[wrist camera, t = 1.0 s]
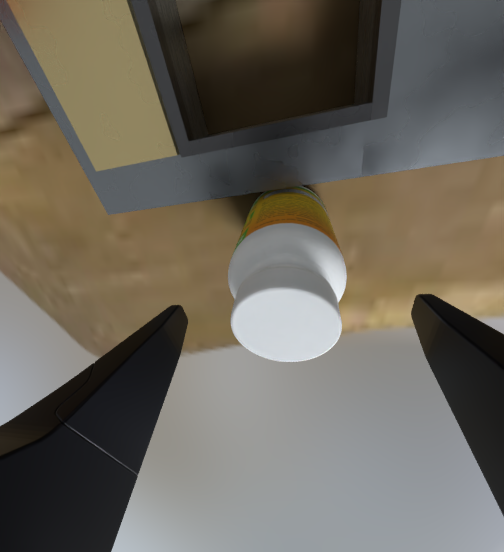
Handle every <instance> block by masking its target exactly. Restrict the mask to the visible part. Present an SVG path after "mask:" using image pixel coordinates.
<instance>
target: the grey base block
mask: <svg viewBox="0 0 504 552" xmlns="http://www.w3.org/2000/svg"><path fill="white" fill-rule="evenodd" d="M0 20H1V22H2V23H3V25H4V27H5V29H6V31H7V32H8V34H9V36H10V38H11V40H12V42H13V43H14V45H15V47H16V49H17V51H18V52H19V54H20V56H21V58H22V60H23V61H24V63H25V65H26V67H27V69H28V70H29V72H30V74H31V76H32V78H33V80H34V81H35V83H36V85H37V87H38V89H39V90H40V92H41V94H42V96H43V98H44V99H45V101H46V103H47V105H48V107H49V108H50V110H51V112H52V114H53V116H54V118H55V119H56V121H57V123H58V125H59V127H60V128H61V130H62V132H63V134H64V136H65V137H66V139H67V141H68V143H69V145H70V146H71V148H72V150H73V152H74V154H75V155H76V157H77V159H78V161H79V163H80V165H81V166H82V168H83V170H84V172H85V174H86V175H87V177H88V179H89V181H90V183H91V184H92V186H93V188H94V190H95V192H96V193H97V195H98V197H99V199H100V201H101V203H102V204H103V206H104V208H105V210H106V212H107V213H108V215H110V214H117V213H123V212H130V211H137V210H144V209H150V208H157V207H164V206H170V205H177V204H184V203H190V202H197V201H204V200H210V199H217V198H224V197H230V196H237V195H244V194H250V193H257V192H264V191H270V190H277V189H284V188H290V187H297V186H304V185H310V184H317V183H324V182H330V181H337V180H344V179H350V178H357V177H364V176H371V175H377V174H384V173H391V172H397V171H404V170H411V169H417V168H424V167H431V166H437V165H444V164H451V163H457V162H464V161H471V160H477V159H484V158H491V157H497V156H504V0H360V7H359V25H358V43H357V60H356V78H355V96H354V104H352V105H347V106H342V107H338V108H333V109H328V110H324V111H319V112H314V113H310V114H305V115H300V116H296V117H291V118H286V119H282V120H277V121H272V122H268V123H263V124H258V125H254V126H249V127H244V128H239V129H235V130H230V131H225V132H221V133H216V134H211V135H208V131H207V127H206V123H205V119H204V115H203V111H202V107H201V103H200V99H199V95H198V91H197V87H196V83H195V79H194V75H193V71H192V66H191V62H190V58H189V54H188V50H187V46H186V42H185V38H184V34H183V30H182V26H181V22H180V18H179V14H178V10H177V6H176V2H175V0H0Z"/></svg>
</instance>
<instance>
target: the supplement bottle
mask: <svg viewBox="0 0 504 552" xmlns="http://www.w3.org/2000/svg"><path fill="white" fill-rule="evenodd" d="M346 278H347V276H346V267H345V263H344V259H343V256H342V253H341V250H340V247H339V245H338V242H337V239H336V237H335V234H334V231H333V228H332V225H331V222H330V220H329V217H328V214H327V211H326V208H325V206H324V204H323V203H322V201H321V200H320V198H319V197H318V196H317V195H316V194H315V193H314V192H312V191H311V190H309V189H307V188H305V187H303V186H297V187H290V188H284V189H277V190H270V191H265V192H264V193H263V194H261V195H260V196H259V197H258V198H257V200H256V201H255V202H254V204H253V205H252V207H251V209H250V212H249V214H248V217H247V220H246V222H245V225H244V228H243V230H242V233H241V236H240V238H239V241H238V243H237V246H236V248H235V251H234V253H233V256H232V258H231V262H230V265H229V271H228V282H229V287H230V290H231V293H232V295H233V297H234V299H235V301H234V305H233V309H232V313H231V328H232V331H233V333H234V335H235V337H236V338H237V340H238V341H239V342H240V343H241V344H242V345H243V346H244V347H245V348H247V349H248V350H250V351H251V352H253V353H255V354H257V355H259V356H261V357H264V358H267V359H271V360H276V361H283V362H297V361H304V360H309V359H313V358H315V357H318V356H320V355H322V354H324V353H325V352H327V351H328V350H330V348H332V347H333V346H334V345H335V343H336V342H337V340H338V339H339V336H340V333H341V328H342V321H341V316H340V312H339V306H338V302H339V301H340V299H341V297H342V295H343V293H344V290H345V286H346Z"/></svg>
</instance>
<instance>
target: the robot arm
mask: <svg viewBox="0 0 504 552" xmlns="http://www.w3.org/2000/svg"><path fill="white" fill-rule="evenodd" d="M411 316H412V320H413V323H414V325H415V328H416V331H417V334H418V337H419V340H420V343H421V345H422V348H423V351H424V354H425V356H426V359H427V361H428V363H429V365H430V367H431V369H432V371H433V373H434V375H435V377H436V379H437V381H438V384H439V385H440V388H441V390H442V392H443V393H444V395H445V398H446V400H447V402H448V404H449V406H450V408H451V410H452V412H453V414H454V416H455V418H456V420H457V422H458V424H459V426H460V428H461V430H462V432H463V434H464V436H465V438H466V441H467V443H468V445H469V446H470V448H471V451H472V453H473V455H474V457H475V459H476V461H477V463H478V465H479V467H480V469H481V471H482V473H483V475H484V477H485V479H486V481H487V483H488V485H489V487H490V489H491V491H492V493H493V495H494V497H495V500H496V501H497V503H498V506H499V508H500V509H501V511H502V514H503V516H504V334H502V333H500V332H499V331H497V330H495V329H493V328H492V327H490V326H488V325H486V324H484V323H483V322H481V321H479V320H477V319H475V318H474V317H472V316H470V315H468V314H467V313H465V312H463V311H461V310H459V309H458V308H456V307H454V306H452V305H450V304H449V303H447V302H445V301H443V300H441V299H440V298H438V297H436V296H434V295H432V294H419V295H417V296H416V298H415V301H414V304H413V308H412V311H411ZM187 325H188V319H187V316H186V314H185V312H184V310H183V308H182V306H181V305H171V306H170V307H168V308H167V309H166V310H164V311H163V312H162V313H160V314H159V315H158V316H156V317H155V318H153V319H152V320H151V321H149V322H148V323H147V324H145V325H144V326H143V327H141V328H140V329H139V330H137V331H136V332H135V333H133V334H132V335H131V336H129V337H128V338H127V339H125V340H124V341H123V342H121V343H120V344H119V345H117V346H116V347H114V348H113V349H112V350H110V351H109V352H108V353H106V354H105V355H104V356H102V357H101V358H100V359H98V360H97V361H96V362H95V363H93V364H92V365H90V366H89V367H88V368H86V369H85V370H84V371H82V372H81V373H79V374H78V375H77V376H75V377H74V378H72V379H71V380H70V381H68V382H67V383H66V384H64V385H62V386H61V387H60V388H58V389H57V390H55V391H54V392H52V393H51V394H49V395H48V396H46V397H45V398H43V399H42V400H40V401H39V402H37V403H36V404H34V405H33V406H31V407H30V408H28V409H27V410H25V411H24V412H22V413H21V414H19V415H18V416H16V417H15V418H13V419H12V420H10V421H9V422H7V423H5V424H4V425H1V426H0V552H111V550H112V548H113V545H114V542H115V539H116V536H117V533H118V531H119V528H120V525H121V522H122V519H123V516H124V513H125V511H126V508H127V505H128V502H129V499H130V497H131V493H132V491H133V488H134V485H135V483H136V480H137V477H138V476H137V475H138V473H139V471H140V468H141V465H142V462H143V459H144V456H145V454H146V451H147V448H148V445H149V442H150V440H151V437H152V434H153V431H154V428H155V425H156V423H157V420H158V417H159V414H160V411H161V408H162V406H163V403H164V400H165V397H166V394H167V391H168V388H169V386H170V383H171V380H172V377H173V374H174V372H175V368H176V366H177V363H178V360H179V357H180V354H181V350H182V346H183V342H184V337H185V333H186V329H187Z"/></svg>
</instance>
